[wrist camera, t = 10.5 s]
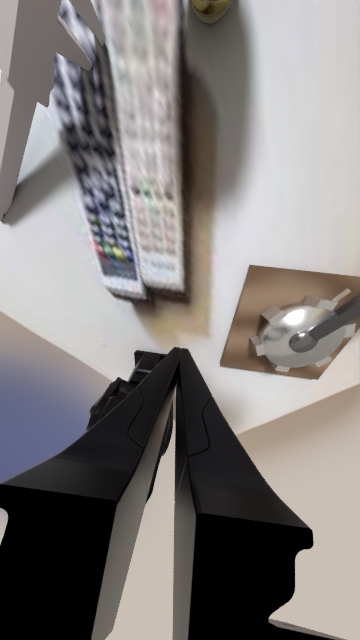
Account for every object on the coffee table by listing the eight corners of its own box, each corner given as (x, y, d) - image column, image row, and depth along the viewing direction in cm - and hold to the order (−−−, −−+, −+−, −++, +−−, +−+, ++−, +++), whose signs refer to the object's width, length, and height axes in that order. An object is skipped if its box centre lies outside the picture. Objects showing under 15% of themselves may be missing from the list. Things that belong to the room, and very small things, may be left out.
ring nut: (281, 371, 22) (308, 408, 17) (236, 334, 20) (251, 362, 14) (428, 289, 15) (554, 308, 10) (383, 216, 13) (517, 188, 7)
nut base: (313, 375, 23) (318, 380, 22) (219, 362, 23) (220, 366, 23) (388, 279, 16) (398, 281, 15) (249, 264, 16) (252, 265, 16)
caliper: (99, 26, 10) (-13, -246, 5) (109, 46, 11) (15, -186, 5) (-4, 214, 17) (-104, 193, 11) (4, 222, 17) (-89, 206, 11)
